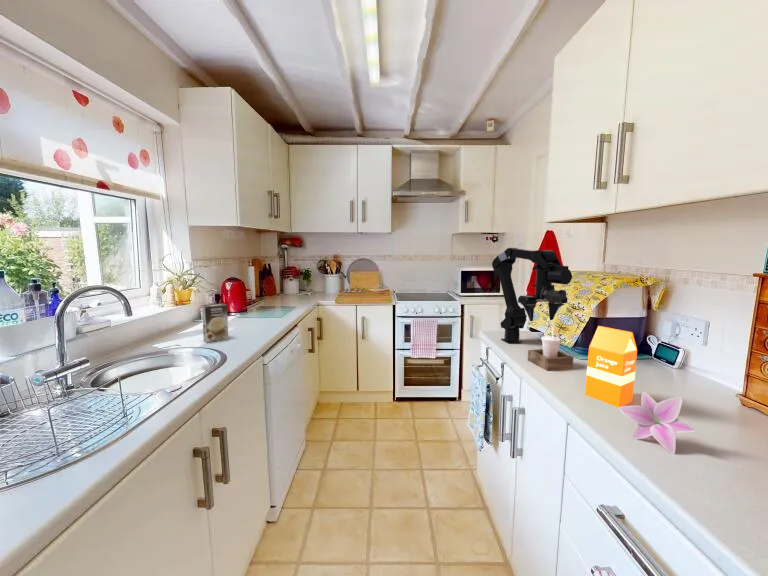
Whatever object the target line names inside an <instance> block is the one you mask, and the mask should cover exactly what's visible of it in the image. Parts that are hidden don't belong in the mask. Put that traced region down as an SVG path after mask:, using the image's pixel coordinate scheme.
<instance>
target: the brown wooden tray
mask: <svg viewBox="0 0 768 576" xmlns="http://www.w3.org/2000/svg"><path fill="white" fill-rule="evenodd" d="M527 361H528V362H530V363H532V364H533V365H536V366H538V367H539V368H542V369H543V370H545V371H554V370H555V371H557V370H566V369H567V370H568V369H574V368H573V367H574V356H572V355H569V354H567V353H565V352H562V351H559V350H558V353H557V357H553V358H548V357H545V356H543V348H541V349H529V350H527Z"/></svg>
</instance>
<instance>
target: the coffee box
mask: <svg viewBox="0 0 768 576" xmlns="http://www.w3.org/2000/svg"><path fill="white" fill-rule="evenodd" d="M201 306H202V307H201V311H202V329H203V331H202V333H203V341H204V342H205V343H208V344H209V343H214V342H220V341H221V342H223V341H227V340H228V341H229V322H228V320H229V319H228V318H229V317H228V305H227V304H226V303H212V304H211V303H210V304H202V305H201Z"/></svg>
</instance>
